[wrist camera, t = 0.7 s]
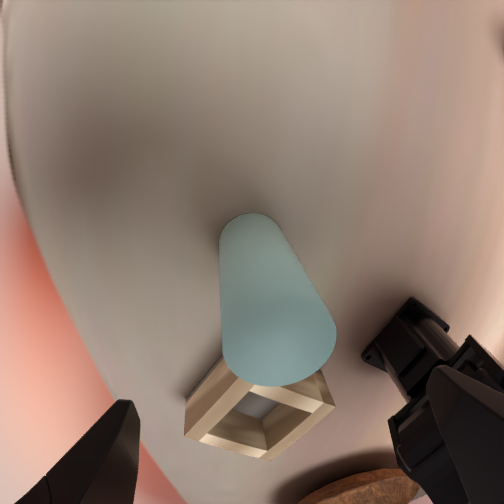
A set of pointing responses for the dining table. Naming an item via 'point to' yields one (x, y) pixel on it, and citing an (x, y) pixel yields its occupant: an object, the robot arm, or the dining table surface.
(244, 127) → the dining table surface
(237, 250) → the peg
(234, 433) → the socket
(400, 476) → the bowl
